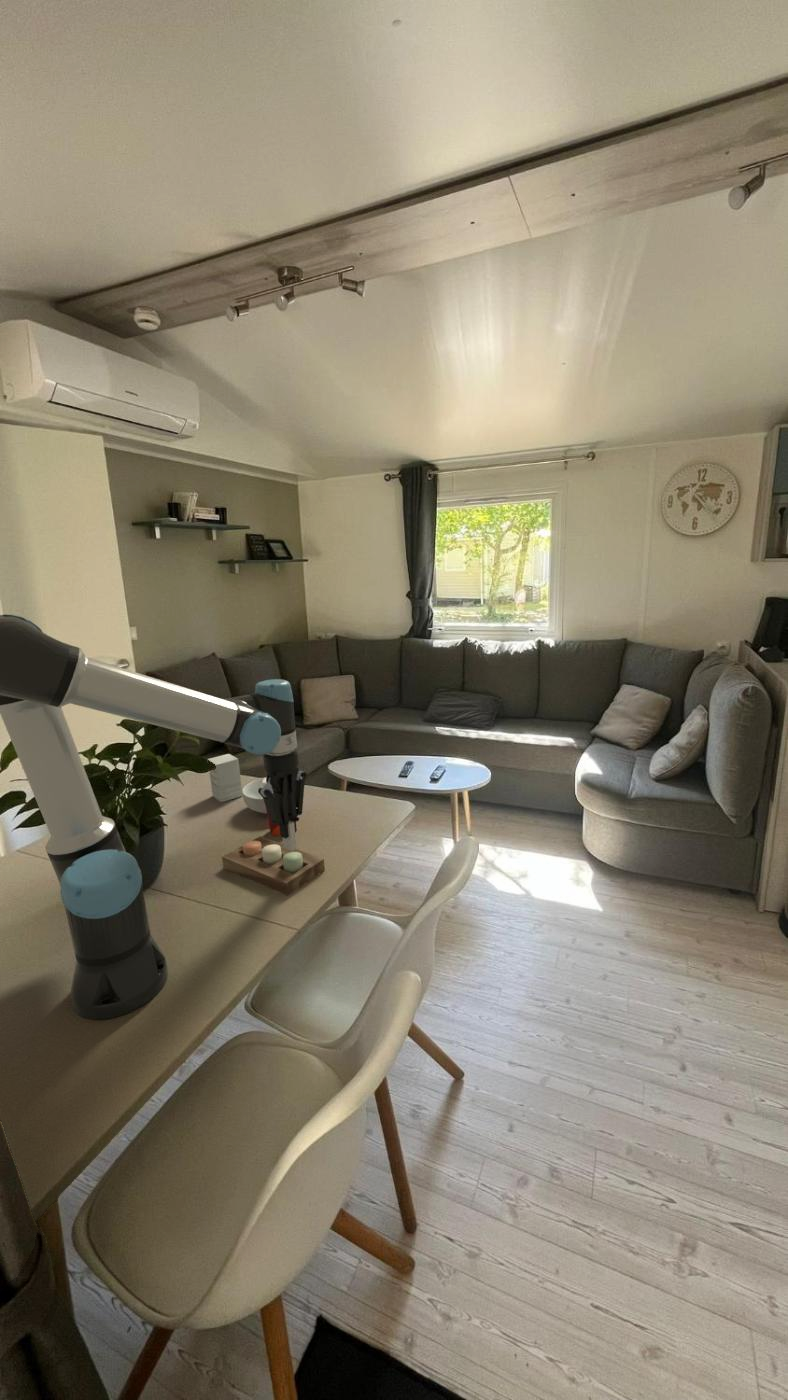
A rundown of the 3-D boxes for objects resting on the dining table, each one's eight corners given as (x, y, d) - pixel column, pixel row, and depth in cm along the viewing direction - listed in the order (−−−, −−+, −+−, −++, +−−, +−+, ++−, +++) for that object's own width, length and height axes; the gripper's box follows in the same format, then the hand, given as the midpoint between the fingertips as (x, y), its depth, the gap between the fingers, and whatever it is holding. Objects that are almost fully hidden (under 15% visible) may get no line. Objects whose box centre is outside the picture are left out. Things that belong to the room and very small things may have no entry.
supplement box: (234, 789, 183) (229, 752, 180) (243, 796, 178) (238, 758, 175) (211, 796, 179) (206, 758, 176) (220, 803, 173) (215, 764, 170)
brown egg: (252, 864, 135) (250, 851, 134) (240, 859, 137) (238, 846, 136) (266, 856, 138) (264, 843, 137) (254, 852, 141) (252, 839, 140)
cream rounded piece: (272, 869, 131) (270, 855, 130) (259, 864, 133) (257, 850, 132) (286, 861, 134) (284, 847, 133) (273, 856, 136) (271, 842, 136)
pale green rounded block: (293, 878, 127) (292, 863, 126) (280, 872, 129) (278, 858, 128) (307, 869, 130) (306, 855, 129) (293, 864, 132) (292, 850, 132)
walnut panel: (287, 895, 123) (286, 883, 122) (223, 868, 136) (221, 856, 135) (324, 870, 132) (323, 858, 132) (261, 846, 145) (260, 836, 144)
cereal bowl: (232, 812, 166) (229, 790, 165) (275, 792, 179) (273, 772, 177) (271, 826, 156) (268, 802, 154) (313, 804, 169) (311, 782, 167)
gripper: (269, 762, 116) (281, 865, 121) (313, 744, 126) (321, 840, 132) (245, 756, 120) (257, 856, 125) (289, 739, 130) (298, 832, 136)
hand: (290, 848), depth 128 cm, fingers closed
